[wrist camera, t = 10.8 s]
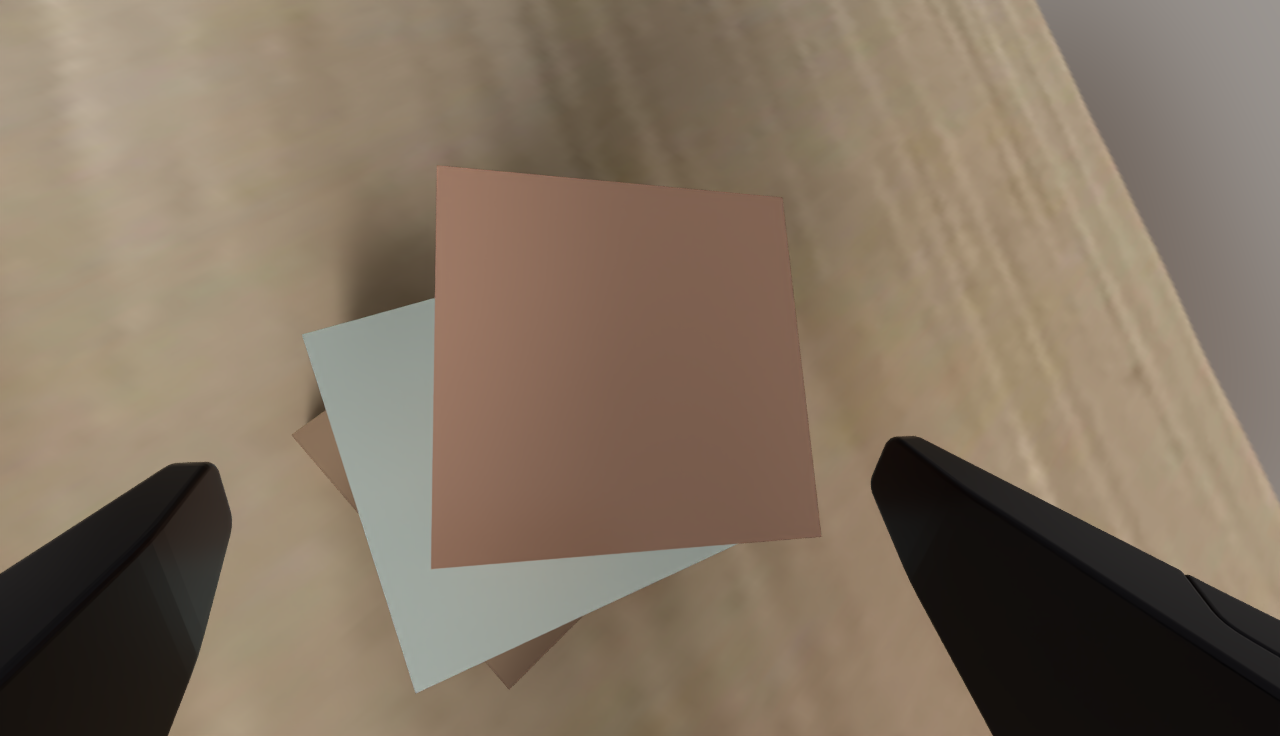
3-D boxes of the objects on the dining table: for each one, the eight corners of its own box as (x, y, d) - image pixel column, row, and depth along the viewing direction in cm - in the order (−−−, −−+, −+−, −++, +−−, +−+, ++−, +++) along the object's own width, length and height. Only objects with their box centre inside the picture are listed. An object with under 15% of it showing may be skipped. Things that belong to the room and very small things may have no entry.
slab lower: (711, 469, 23) (733, 465, 21) (506, 670, 20) (509, 689, 18) (542, 272, 23) (548, 249, 21) (311, 442, 20) (291, 434, 18)
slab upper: (721, 536, 21) (747, 539, 19) (424, 671, 18) (415, 693, 16) (616, 268, 22) (630, 244, 20) (322, 353, 19) (301, 334, 17)
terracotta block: (612, 521, 18) (821, 537, 7) (450, 531, 16) (430, 569, 6) (605, 369, 19) (782, 197, 8) (451, 368, 17) (437, 165, 7)
